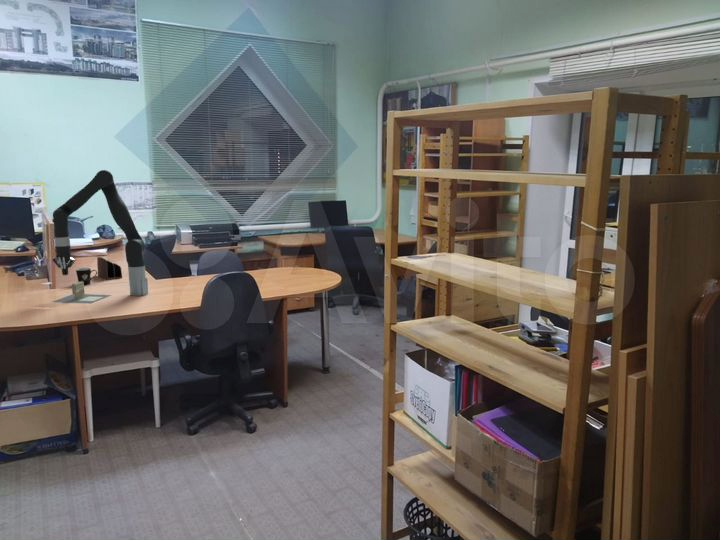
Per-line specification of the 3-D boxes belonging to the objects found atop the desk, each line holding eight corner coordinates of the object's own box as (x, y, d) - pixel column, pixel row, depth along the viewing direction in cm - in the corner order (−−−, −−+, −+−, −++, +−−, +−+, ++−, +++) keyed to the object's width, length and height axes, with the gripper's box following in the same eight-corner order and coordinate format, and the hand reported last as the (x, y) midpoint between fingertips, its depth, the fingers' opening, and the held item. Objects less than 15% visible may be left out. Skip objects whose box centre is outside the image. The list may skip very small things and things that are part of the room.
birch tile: (84, 296, 310) (83, 281, 308) (77, 299, 303) (75, 284, 301) (80, 296, 310) (79, 281, 309) (72, 299, 303) (71, 284, 302)
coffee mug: (75, 286, 343) (73, 270, 341) (79, 283, 352) (78, 268, 350) (94, 285, 346) (93, 270, 344) (98, 282, 354) (97, 267, 352)
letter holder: (107, 280, 362) (105, 259, 360) (97, 275, 377) (96, 256, 374) (122, 278, 369) (120, 258, 366) (112, 274, 383) (111, 254, 381)
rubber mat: (112, 296, 315) (112, 295, 315) (91, 305, 295) (91, 303, 295) (74, 295, 318) (74, 293, 318) (51, 303, 298) (50, 301, 298)
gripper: (77, 244, 305) (80, 274, 308) (56, 243, 307) (59, 273, 310) (69, 246, 298) (71, 276, 301) (47, 245, 299) (50, 275, 302)
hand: (65, 275), depth 305 cm, fingers closed
